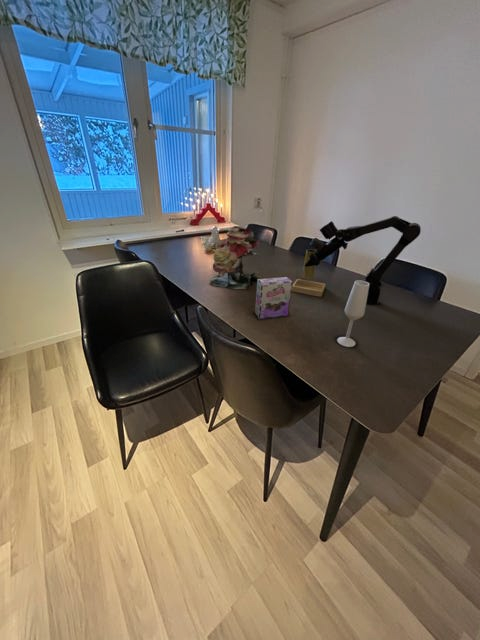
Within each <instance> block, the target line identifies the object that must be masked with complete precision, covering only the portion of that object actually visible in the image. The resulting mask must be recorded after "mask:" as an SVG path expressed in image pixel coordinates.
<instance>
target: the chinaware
mask: <svg viewBox="0 0 480 640" xmlns="http://www.w3.org/2000/svg"><path fill="white" fill-rule="evenodd" d="M210 231H211V236H207V235H206V236H201V237H200V238H199V239H200V240H201V242H202V243H201V244H202V245H203V248H204V249H205V251H206V252H210V251H211V250H212V249H216V248H215V247H217V246H218V244H219V243H220V241H221V240H222V239H221V237H220V228H218V227H217V226H216V225H214V226H213V227H212V228H210Z"/></svg>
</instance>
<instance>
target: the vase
mask: <svg viewBox="0 0 480 640" xmlns="http://www.w3.org/2000/svg"><path fill="white" fill-rule="evenodd" d="M316 250H317V249H306V250H305V255H304V261H303V262H304V263H303V269H302V273H301V277H302V278H303V279H304V280H312V279H314V274H315V267H316V265H313V266H308V267H305V264H306V263H307V262H308V261H309V260H310V257H309V256H310V255H311V254H312V253H314V252H317V251H316Z"/></svg>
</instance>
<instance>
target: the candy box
mask: <svg viewBox="0 0 480 640" xmlns="http://www.w3.org/2000/svg"><path fill="white" fill-rule="evenodd" d="M292 285H293V281H292V280H291V279H290V278H289V277H287V276H283V277H271V278H270V277H269V278H268V277H267V278H261V279H256V290H255V291H256V292H255V293H256V294H255V307H254V313H255V315H256V317H257V319H258V320H263V319H272V318H273V319H274V318H280V317H288V316H289V310H290V302H291V295H292V291H291V289H292Z"/></svg>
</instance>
